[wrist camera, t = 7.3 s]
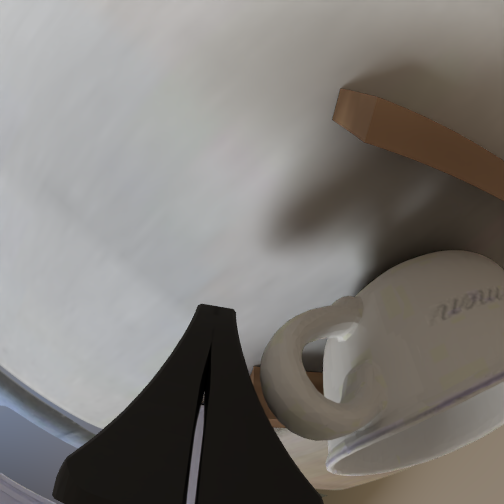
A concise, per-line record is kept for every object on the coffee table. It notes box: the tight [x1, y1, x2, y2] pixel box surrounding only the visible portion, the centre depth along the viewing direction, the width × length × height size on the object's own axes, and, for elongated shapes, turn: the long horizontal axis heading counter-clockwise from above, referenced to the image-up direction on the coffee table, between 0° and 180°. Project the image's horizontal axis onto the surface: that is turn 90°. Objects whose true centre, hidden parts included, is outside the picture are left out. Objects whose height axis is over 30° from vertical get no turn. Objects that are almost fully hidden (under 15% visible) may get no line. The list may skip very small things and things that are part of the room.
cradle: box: [250, 88, 504, 428], centre depth 12 cm, size 16×17×4 cm
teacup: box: [260, 250, 504, 476], centre depth 10 cm, size 14×11×8 cm
